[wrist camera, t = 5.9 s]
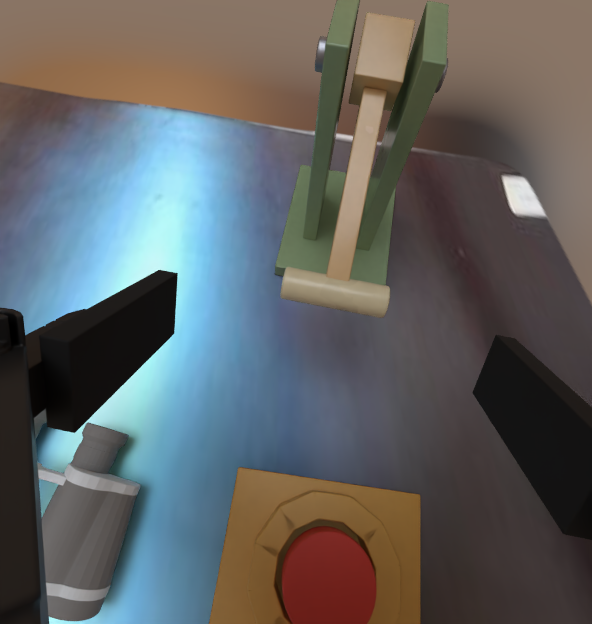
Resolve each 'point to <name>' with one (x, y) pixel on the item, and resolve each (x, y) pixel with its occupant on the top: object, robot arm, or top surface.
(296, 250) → the rod bracket
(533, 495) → the top surface
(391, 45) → the kicker arm
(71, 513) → the binoculars
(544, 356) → the top surface
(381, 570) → the button block
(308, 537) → the button
